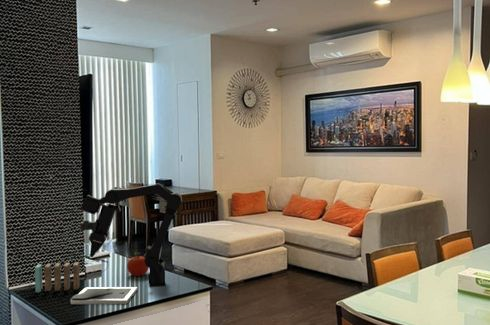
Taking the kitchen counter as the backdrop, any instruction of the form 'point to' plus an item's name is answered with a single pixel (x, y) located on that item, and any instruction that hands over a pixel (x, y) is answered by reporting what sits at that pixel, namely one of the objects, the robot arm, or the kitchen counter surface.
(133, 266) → the fruit
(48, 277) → the domino
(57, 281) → the domino
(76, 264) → the domino
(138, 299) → the kitchen counter surface
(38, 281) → the domino
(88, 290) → the picture frame
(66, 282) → the domino
